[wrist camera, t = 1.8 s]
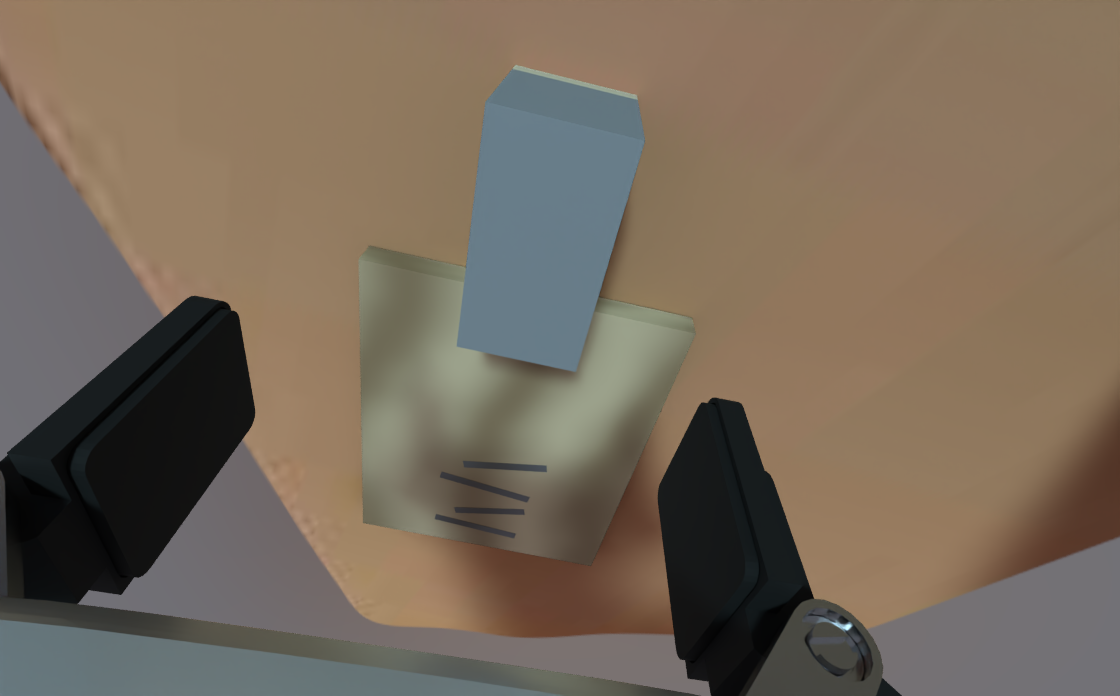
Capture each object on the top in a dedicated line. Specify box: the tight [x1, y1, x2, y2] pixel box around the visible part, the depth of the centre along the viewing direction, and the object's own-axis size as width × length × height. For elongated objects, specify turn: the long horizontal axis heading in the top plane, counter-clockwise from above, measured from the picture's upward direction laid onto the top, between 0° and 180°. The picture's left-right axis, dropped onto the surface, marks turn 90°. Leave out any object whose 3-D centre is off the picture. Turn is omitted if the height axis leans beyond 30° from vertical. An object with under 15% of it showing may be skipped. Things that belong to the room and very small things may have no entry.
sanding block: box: [457, 65, 645, 372], centre depth 18 cm, size 4×8×6 cm, turn 168°
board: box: [359, 246, 696, 566], centre depth 28 cm, size 14×18×1 cm
